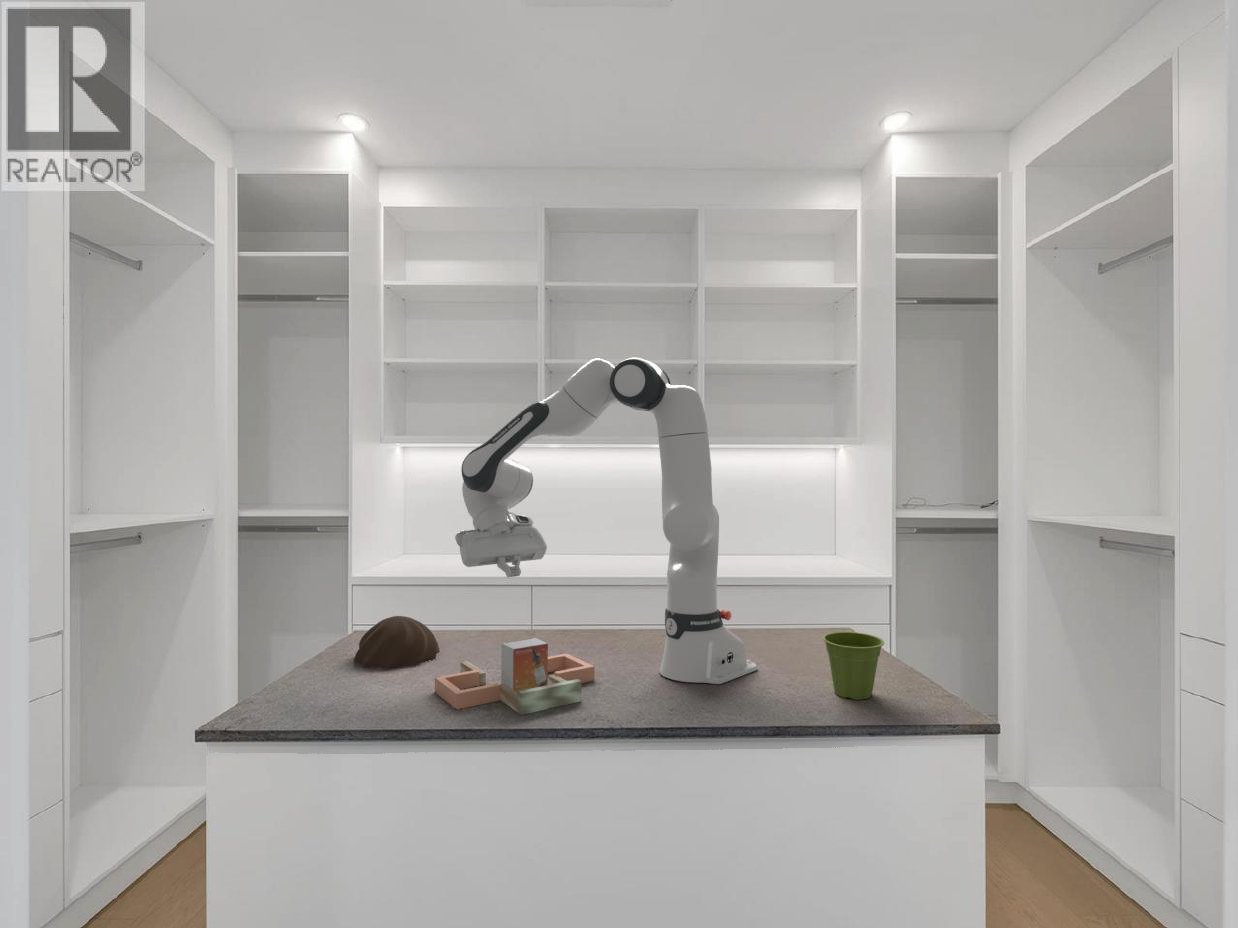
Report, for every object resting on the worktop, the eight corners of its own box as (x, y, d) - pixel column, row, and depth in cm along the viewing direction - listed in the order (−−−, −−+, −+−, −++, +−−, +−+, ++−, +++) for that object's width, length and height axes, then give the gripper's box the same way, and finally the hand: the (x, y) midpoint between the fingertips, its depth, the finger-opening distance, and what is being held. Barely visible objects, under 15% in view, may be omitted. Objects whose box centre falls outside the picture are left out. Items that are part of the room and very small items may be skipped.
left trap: (476, 683, 148) (476, 669, 148) (500, 700, 138) (500, 685, 138) (434, 691, 143) (434, 677, 143) (456, 709, 133) (456, 693, 133)
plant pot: (810, 692, 143) (810, 637, 143) (845, 681, 150) (845, 628, 150) (861, 709, 133) (861, 650, 133) (896, 696, 141) (896, 640, 140)
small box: (512, 702, 137) (512, 649, 137) (500, 694, 142) (500, 642, 142) (548, 694, 141) (548, 642, 141) (536, 687, 146) (536, 637, 146)
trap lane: (513, 663, 163) (513, 646, 163) (581, 701, 138) (581, 680, 138) (460, 673, 156) (460, 655, 156) (521, 714, 130) (521, 693, 130)
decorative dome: (336, 660, 166) (336, 618, 166) (405, 642, 182) (405, 604, 182) (388, 675, 155) (388, 629, 155) (456, 654, 171) (456, 613, 171)
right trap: (566, 666, 161) (566, 653, 160) (594, 680, 151) (594, 666, 151) (531, 673, 155) (531, 659, 155) (557, 687, 146) (557, 673, 146)
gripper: (456, 522, 157) (474, 571, 149) (537, 517, 169) (558, 561, 161) (449, 540, 161) (467, 589, 153) (529, 534, 173) (549, 578, 165)
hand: (514, 575), depth 157 cm, fingers closed
